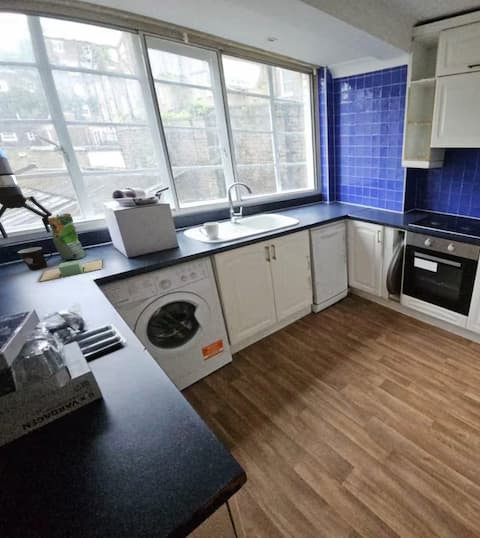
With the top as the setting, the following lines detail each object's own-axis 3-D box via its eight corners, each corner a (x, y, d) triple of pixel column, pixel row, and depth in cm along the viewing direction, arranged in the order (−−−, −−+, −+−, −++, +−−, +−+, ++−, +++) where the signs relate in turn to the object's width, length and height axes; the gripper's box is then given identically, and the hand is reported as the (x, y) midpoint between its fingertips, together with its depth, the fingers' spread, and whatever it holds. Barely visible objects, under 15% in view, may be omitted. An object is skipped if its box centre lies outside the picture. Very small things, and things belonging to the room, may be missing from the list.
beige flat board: (40, 283, 135) (39, 281, 135) (45, 273, 147) (44, 270, 146) (101, 270, 148) (100, 268, 147) (102, 262, 159) (101, 260, 159)
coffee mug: (22, 270, 150) (12, 252, 146) (41, 264, 158) (33, 247, 154) (40, 272, 148) (31, 253, 144) (59, 265, 156) (51, 247, 152)
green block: (63, 278, 140) (58, 267, 138) (64, 273, 145) (60, 263, 143) (82, 274, 144) (77, 263, 142) (83, 270, 149) (78, 259, 147)
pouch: (87, 253, 174) (69, 211, 164) (89, 257, 166) (71, 214, 156) (61, 258, 166) (41, 214, 157) (62, 263, 159) (41, 218, 149)
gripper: (48, 183, 134) (66, 228, 142) (-37, 188, 120) (-11, 238, 128) (45, 184, 128) (64, 231, 136) (-44, 189, 114) (-17, 241, 122)
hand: (28, 234), depth 132 cm, fingers open, 13 cm apart
